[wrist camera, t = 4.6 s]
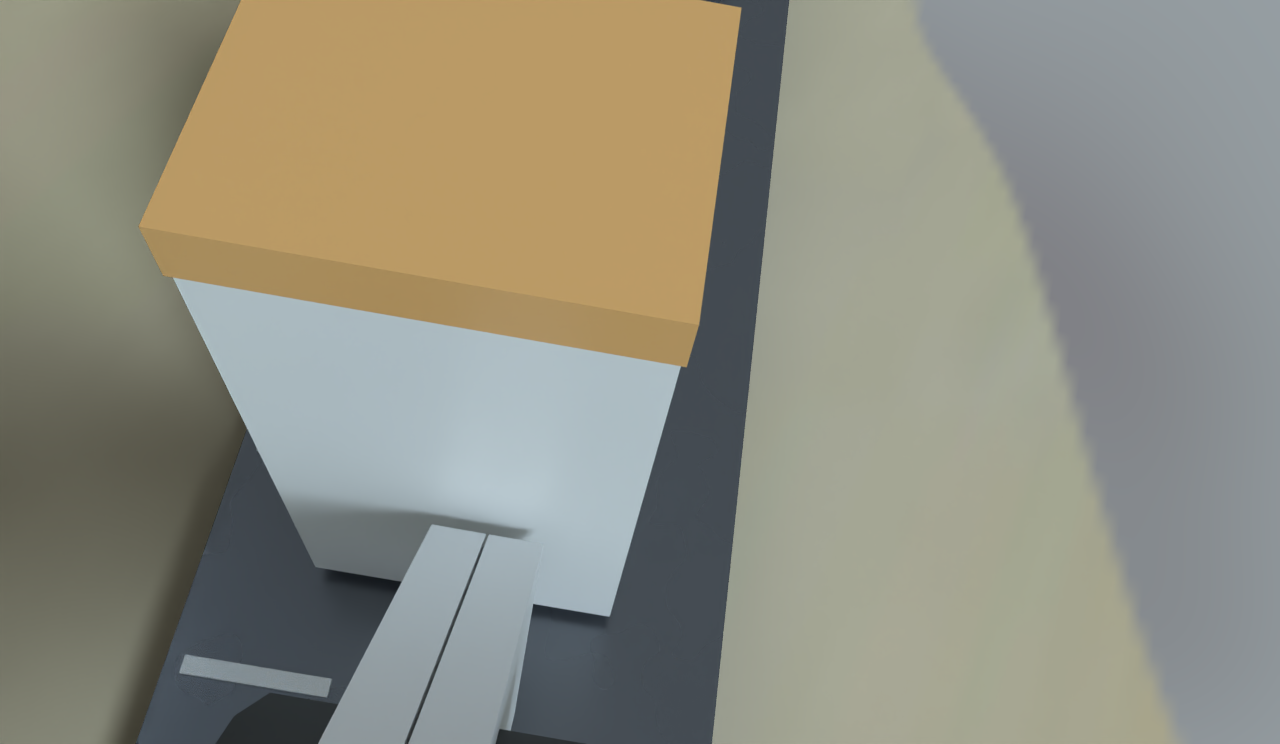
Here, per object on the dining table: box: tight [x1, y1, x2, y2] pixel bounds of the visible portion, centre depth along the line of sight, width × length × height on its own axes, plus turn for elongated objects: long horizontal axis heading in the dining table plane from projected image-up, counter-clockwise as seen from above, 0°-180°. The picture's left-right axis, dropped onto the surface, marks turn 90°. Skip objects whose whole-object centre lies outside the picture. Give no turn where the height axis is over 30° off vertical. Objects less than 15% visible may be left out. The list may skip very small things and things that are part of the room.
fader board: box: [136, 0, 789, 744], centre depth 22 cm, size 26×9×2 cm, turn 172°
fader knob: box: [138, 0, 741, 617], centre depth 15 cm, size 4×5×10 cm
